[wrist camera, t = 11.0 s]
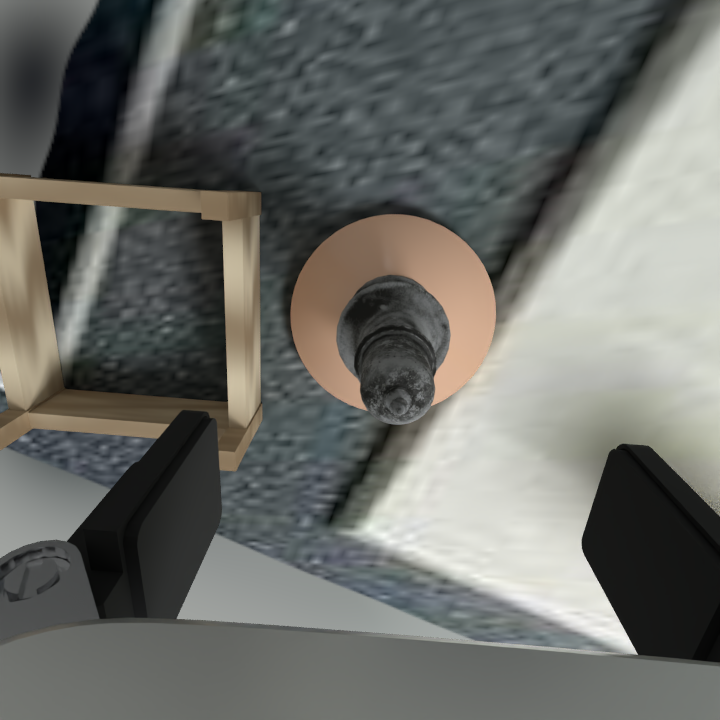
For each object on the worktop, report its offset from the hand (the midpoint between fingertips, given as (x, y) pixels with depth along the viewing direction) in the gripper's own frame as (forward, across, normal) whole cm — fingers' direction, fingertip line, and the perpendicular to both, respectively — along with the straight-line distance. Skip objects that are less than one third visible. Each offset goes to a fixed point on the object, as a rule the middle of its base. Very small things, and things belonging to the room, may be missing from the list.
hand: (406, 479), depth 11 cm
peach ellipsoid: (+18, 0, +1) cm, 18 cm away
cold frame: (+18, +15, +2) cm, 23 cm away
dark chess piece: (+17, 0, +1) cm, 17 cm away
